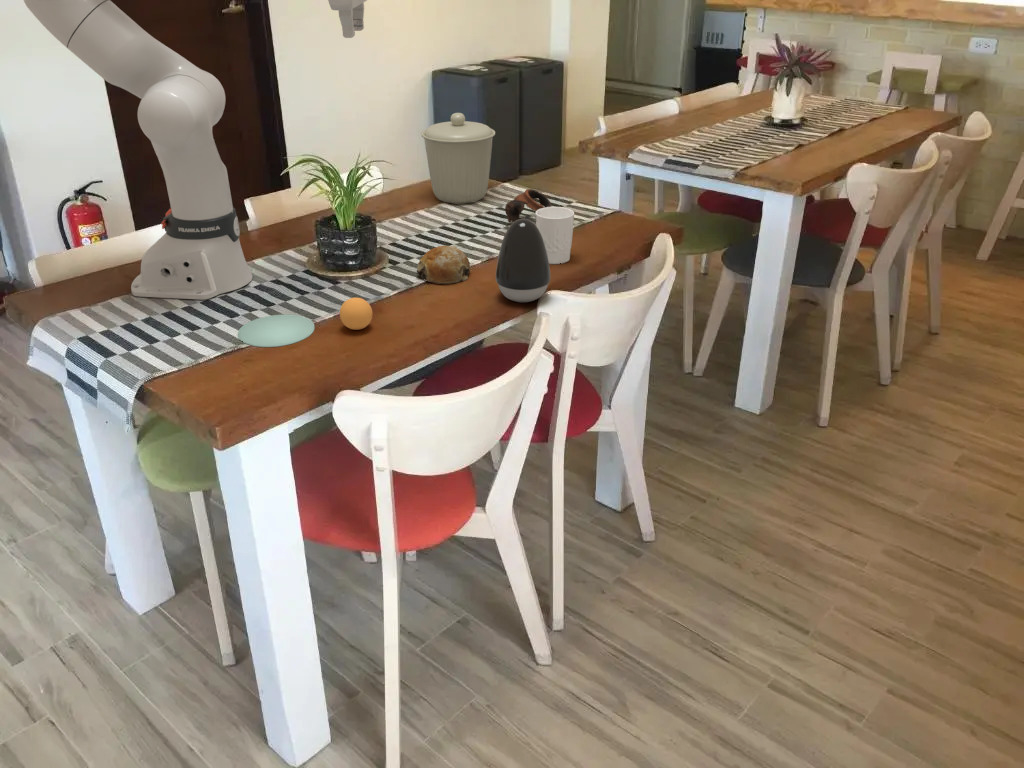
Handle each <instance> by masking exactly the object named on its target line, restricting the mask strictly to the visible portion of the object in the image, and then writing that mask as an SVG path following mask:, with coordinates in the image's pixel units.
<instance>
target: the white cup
mask: <svg viewBox="0 0 1024 768" xmlns="http://www.w3.org/2000/svg"><path fill="white" fill-rule="evenodd" d="M574 218H575V212H574V210H573V209H570V208H567V207H563V206H562V207H561V206H552V207H546V208H545V207H544V208H541V209H539V210H537V211H535V225H536V226H537V228H538V229H539V231H540V233H541V235H542V238H543V241H544V244H545V248H546V251H547V256H548V261H549V265H561V264H565V263H567V262H569V261H570V259H571V251H572V250H571V248H572V244H573V243H572V242H573V235H574V233H573V232H574V220H575V219H574ZM560 263H561V264H560Z"/></svg>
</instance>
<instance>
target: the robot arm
mask: <svg viewBox="0 0 1024 768" xmlns="http://www.w3.org/2000/svg"><path fill="white" fill-rule="evenodd" d="M327 1H328V4H329V7H330V10H332V11H338V18H339V20H340V24H341V30H342V36H343V38H345V39H352V38H354V37H355V35H356V32H360V31H362V30H364V29H365V25H364V17H365V15H364V14H365V2H367V1H368V0H327ZM23 3H24V4H25V6H26V8H28V10H29V11H30V12H31V14H33V16H34V17H35V18H36V19H37V20H38V21H39V23H41V25H42V26H43V27H44V28H45V29H46V30H47V31H48V32H49V34H51V35H52V36H53V37H54V38H55V39H56V40H57V41H59V42H60V43H61V44H62V46H64V47H65V48H66V49H68V50H69V52H71V53H73V55H75V57H77V58H78V59H79V60H81V61H82V62H83V63H84V64H85V65H86V66H88V67H89V68H90V69H91V70H92V71H94V73H96V74H97V75H98V76H99V77H100V78H102V79H103V80H105V81H106V82H107V83H109V84H110V85H112V86H115V87H118V88H121V89H123V90H125V91H127V92H129V94H132V95H134V96H136V97H137V98H139V99H141V100H140V102H139V105H138V107H137V121H138V124H139V127H140V129H141V130H142V132H143V134H144V135H145V136H146V137H147V138H148V139H149V141H150V142H151V145H152V148H153V149H154V153H155V154H156V157H157V159H158V162H159V165H160V167H161V169H162V172H163V177H164V181H165V184H166V189H167V194H168V198H169V204H170V208H169V209H168V210H167V212H165V216H164V217H163V218H162V222H161V229H162V230H165V233H164V234H163V235H162V236H161V237H160V238H159V239H158V240H156V241H155V242H154V243H153V244H152V245H150V247H149V248H148V249H147V251H145V253H144V254H143V256H142V259H141V263H140V273H139V275H137V276H135V278H134V279H133V281H132V282H131V287H130V289H131V291H130V292H131V294H132V295H133V296H134V297H141V298H142V297H143V298H160V299H161V298H164V299H165V298H166V299H182V300H183V299H184V300H202V301H204V300H209V299H212V298H213V297H216V296H218V295H221V294H225V293H229V292H232V291H236V290H238V289H241V288H242V287H244V286H246V285H248V284H249V283H250V282H251V281H252V280H253V274H252V271H251V270H250V268H249V265H248V262H247V261H246V260H247V259H246V258H245V255H244V252H243V249H242V246H241V242H240V234H241V233H240V225H239V219H238V216H237V212H236V208H235V207H234V206H233V200H232V195H231V189H230V182H229V181H230V180H229V175H228V170H227V169H228V168H227V167H226V165H225V164H224V162H223V161H222V159H221V156H220V154H219V151H218V148H217V144H216V143H215V139H214V135H213V127H214V126H216V124H218V122H219V121H220V119H222V116H223V114H224V110H225V106H226V93H225V89H224V87H223V85H222V84H221V81H220V80H219V79H218V78H216V76H214V75H213V74H212V73H210V72H208V71H206V70H203V69H201V68H200V67H198V66H196V65H195V64H194V63H192V62H191V61H189V60H187V58H185V57H184V56H182V55H180V54H179V53H177V52H176V51H174V50H173V49H171V48H170V47H168V46H166V45H165V44H164V43H162V42H161V41H159V40H158V39H156V38H155V37H154V36H152V35H151V34H150V33H148V32H147V31H146V30H144V29H143V28H142V27H141V26H140V25H139V24H138V23H137V22H136V21H134V20H133V19H132V18H131V17H130V16H129V15H127V14H126V13H125V12H124V11H123V10H121V9H120V7H118V6H117V5H116V4H115V3H114V2H113V1H112V0H23Z"/></svg>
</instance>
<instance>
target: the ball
mask: <svg viewBox="0 0 1024 768" xmlns="http://www.w3.org/2000/svg"><path fill="white" fill-rule="evenodd" d="M339 317H340V321H341V323H342V324H343V325H344V326H345V327H347V328H349V329H350V330H354V331H357V330H359V331H360V330H362V329H364V328H366V327H367V326H368V325H370V323H371V321H372V319H373V309H372V306H371V305H370V303H369V302H368V301H367V300H365V299H363V298H362V297H351V298H348V299H346V300H344V302H343V303H342V305H341V307H340V309H339Z"/></svg>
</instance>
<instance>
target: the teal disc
mask: <svg viewBox="0 0 1024 768" xmlns="http://www.w3.org/2000/svg"><path fill="white" fill-rule="evenodd" d="M314 332H315V323H314V322H313V321H312V320H311V319H310V318H308V317H305V316H302V315H297V314H273V315H266V316H263V317H259V318H258V317H257V318H255V319H253V320H250V321H249V322H245V324H244V325H241V327H240V328H239V330H238V331H237V337H238V339H239V340H240V341H241V342H242V341H243V342H242V343H244V344H245V345H249V346H252V347H256V348H257V347H258V348H259V347H260V348H275V347H276V348H278V347H284V346H289V345H292V344H296V343H298V342H302V341H303V340H305V339H307V338H308V337H310V336H311V335H312V334H313V333H314Z"/></svg>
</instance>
